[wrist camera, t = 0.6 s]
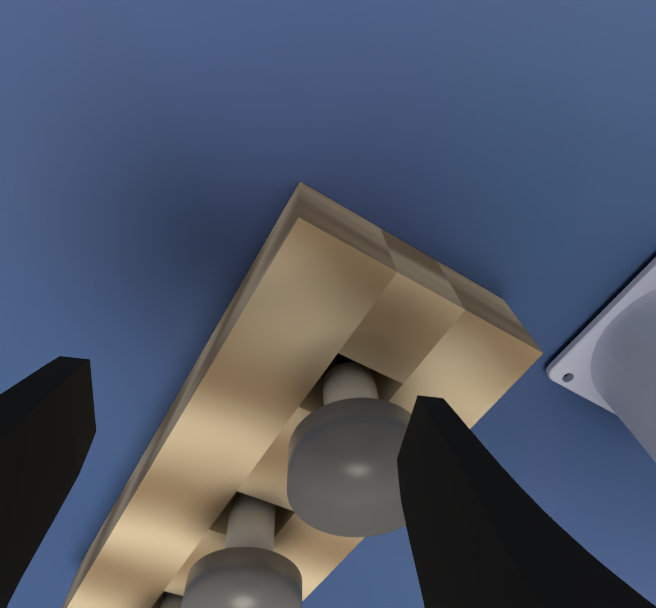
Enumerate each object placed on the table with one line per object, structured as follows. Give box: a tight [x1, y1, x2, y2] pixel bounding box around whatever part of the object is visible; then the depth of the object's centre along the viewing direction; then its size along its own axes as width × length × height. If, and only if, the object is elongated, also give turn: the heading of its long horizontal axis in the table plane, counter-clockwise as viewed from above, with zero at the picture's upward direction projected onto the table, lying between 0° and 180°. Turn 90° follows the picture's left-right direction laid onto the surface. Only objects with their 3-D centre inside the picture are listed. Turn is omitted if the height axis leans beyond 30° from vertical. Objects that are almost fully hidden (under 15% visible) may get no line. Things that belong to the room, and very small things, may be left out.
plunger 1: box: [181, 493, 302, 608], centre depth 19 cm, size 4×4×5 cm
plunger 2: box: [287, 362, 411, 537], centre depth 16 cm, size 4×4×5 cm
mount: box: [62, 182, 543, 608], centre depth 23 cm, size 26×10×4 cm, turn 149°
